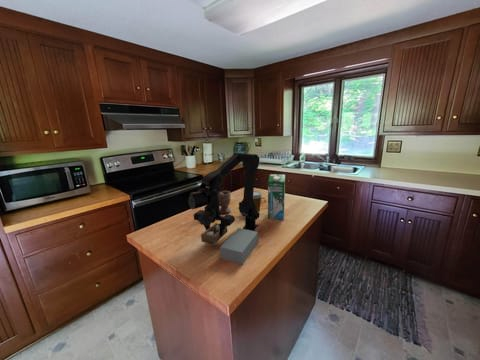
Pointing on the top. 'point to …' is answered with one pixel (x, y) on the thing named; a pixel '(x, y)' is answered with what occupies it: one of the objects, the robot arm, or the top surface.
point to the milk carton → (276, 196)
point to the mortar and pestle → (224, 201)
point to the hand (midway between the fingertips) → (214, 234)
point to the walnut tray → (213, 238)
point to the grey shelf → (239, 246)
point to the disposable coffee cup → (257, 199)
